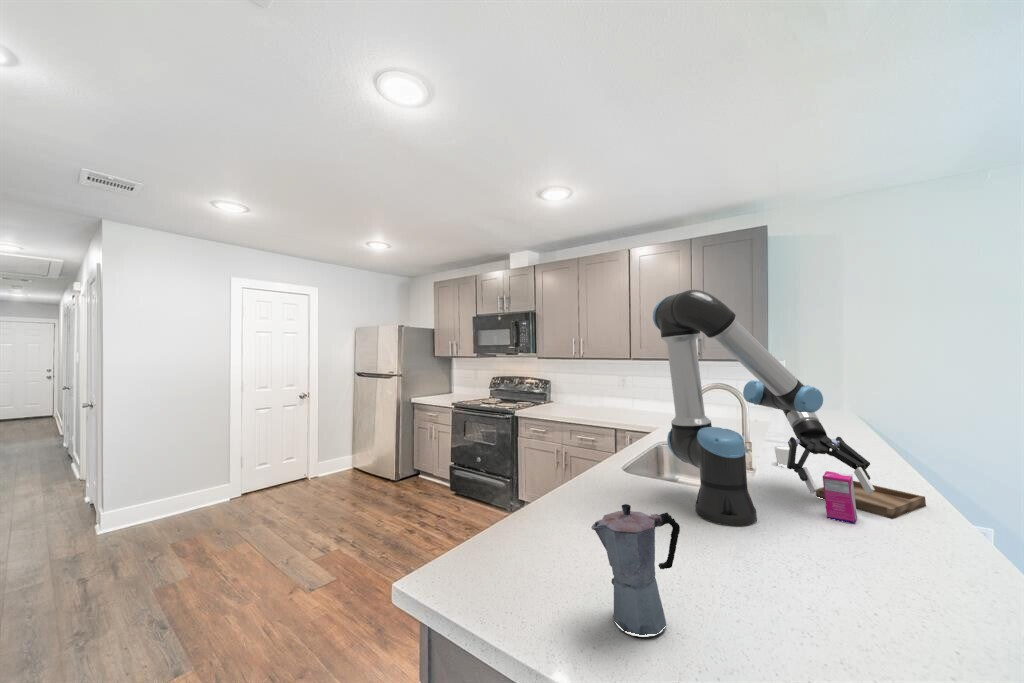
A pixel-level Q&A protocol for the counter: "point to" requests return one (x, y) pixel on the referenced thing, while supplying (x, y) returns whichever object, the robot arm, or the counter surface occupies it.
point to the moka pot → (636, 567)
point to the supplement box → (839, 496)
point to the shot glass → (782, 454)
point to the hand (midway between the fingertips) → (842, 492)
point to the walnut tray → (883, 501)
